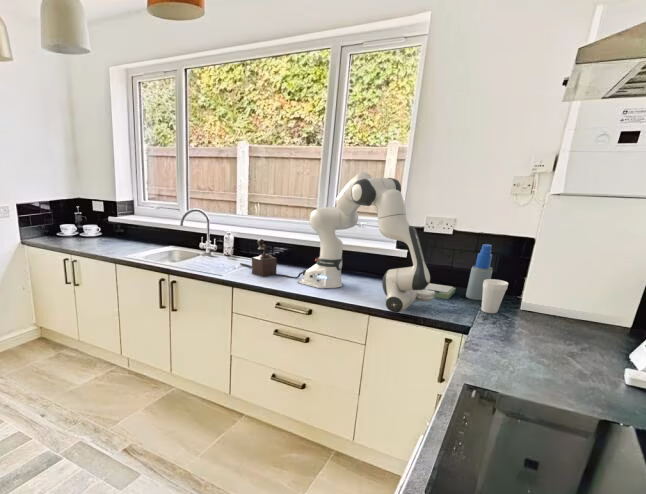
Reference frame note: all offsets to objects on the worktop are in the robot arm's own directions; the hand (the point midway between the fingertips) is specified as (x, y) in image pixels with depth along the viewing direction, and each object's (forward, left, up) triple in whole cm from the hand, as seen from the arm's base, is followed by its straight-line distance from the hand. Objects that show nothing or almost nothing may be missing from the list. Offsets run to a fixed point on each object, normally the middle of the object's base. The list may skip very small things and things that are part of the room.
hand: (415, 288), depth 210 cm
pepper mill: (-87, +3, -6) cm, 87 cm away
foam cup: (+31, +6, -6) cm, 32 cm away
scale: (+5, +20, -6) cm, 21 cm away
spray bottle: (+22, +25, -6) cm, 34 cm away
